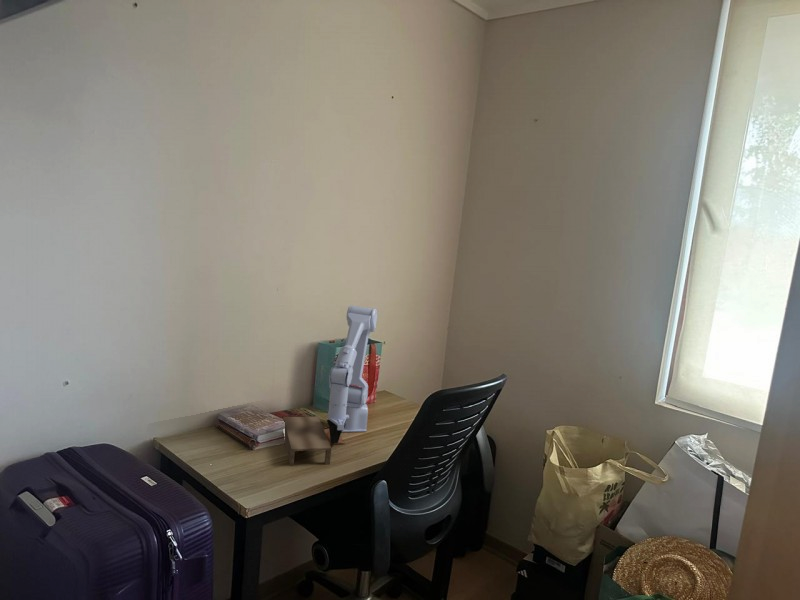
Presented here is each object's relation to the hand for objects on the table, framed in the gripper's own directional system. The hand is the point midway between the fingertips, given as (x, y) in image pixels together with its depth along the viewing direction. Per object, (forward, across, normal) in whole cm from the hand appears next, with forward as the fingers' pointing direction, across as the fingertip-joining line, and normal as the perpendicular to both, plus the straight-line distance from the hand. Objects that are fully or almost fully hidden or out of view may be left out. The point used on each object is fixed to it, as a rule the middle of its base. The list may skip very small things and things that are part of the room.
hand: (334, 442), depth 180 cm
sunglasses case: (+2, +3, +5) cm, 6 cm away
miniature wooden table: (+1, 0, +10) cm, 10 cm away
